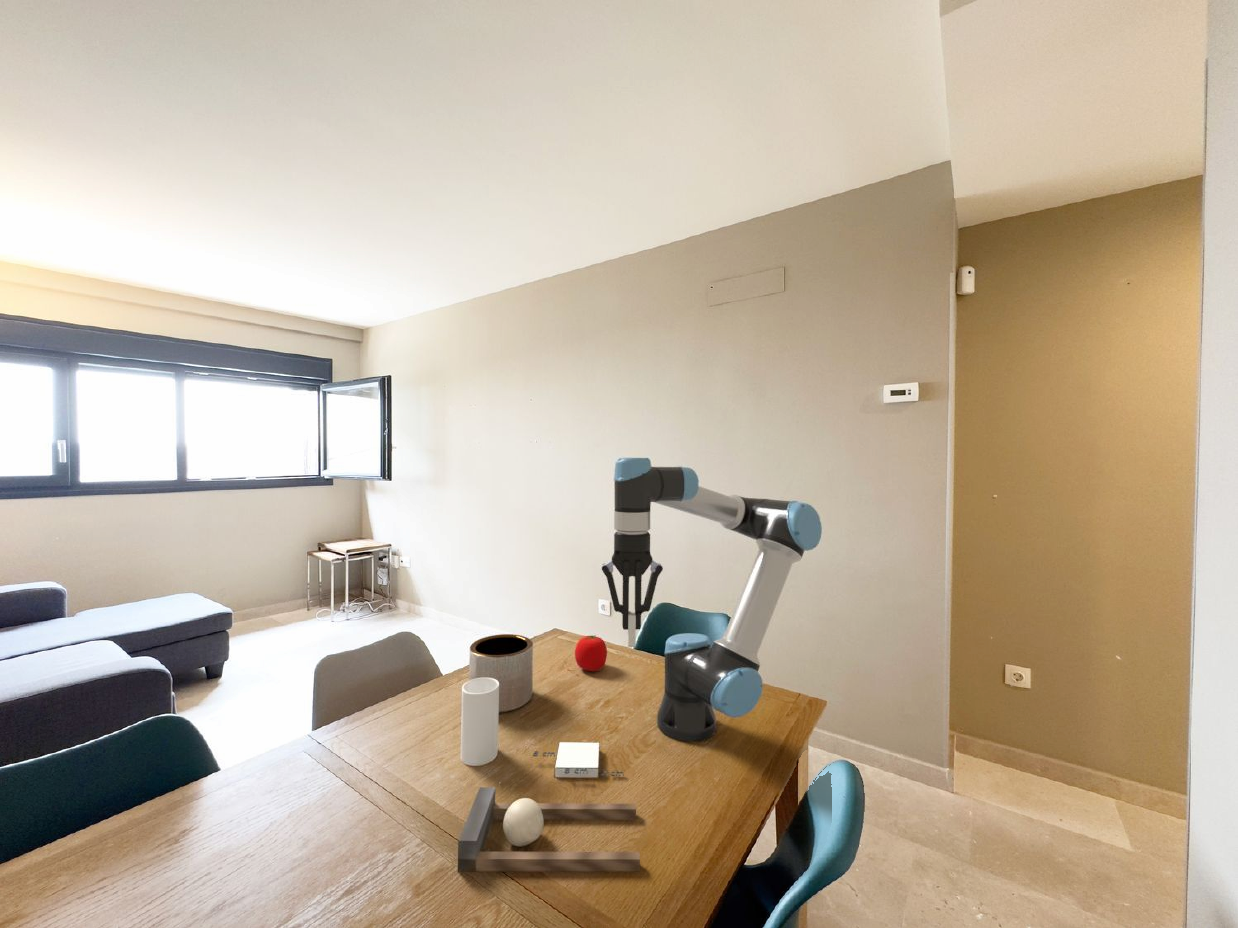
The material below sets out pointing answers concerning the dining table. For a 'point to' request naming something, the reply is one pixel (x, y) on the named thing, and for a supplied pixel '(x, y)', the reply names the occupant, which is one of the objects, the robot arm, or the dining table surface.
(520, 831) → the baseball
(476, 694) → the cup
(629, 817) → the channel
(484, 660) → the planter
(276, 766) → the dining table surface
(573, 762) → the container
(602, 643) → the tomato
